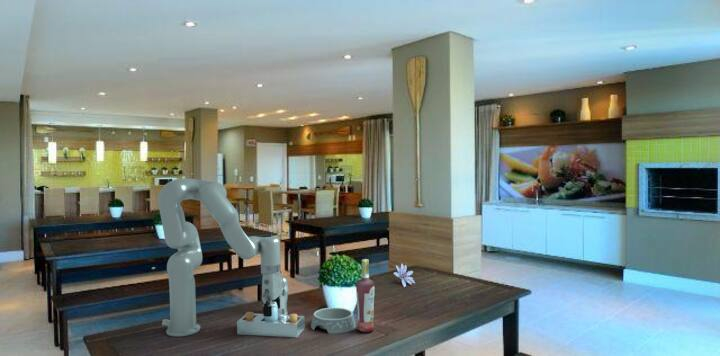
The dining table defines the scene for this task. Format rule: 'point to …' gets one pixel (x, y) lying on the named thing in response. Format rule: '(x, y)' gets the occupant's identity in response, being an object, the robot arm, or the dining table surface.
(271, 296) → the robot arm
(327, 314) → the dog bowl
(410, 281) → the water lily
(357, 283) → the liquor
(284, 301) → the beer glass
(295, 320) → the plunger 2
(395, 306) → the dining table surface
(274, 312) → the cylinder
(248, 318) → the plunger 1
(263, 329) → the housing
